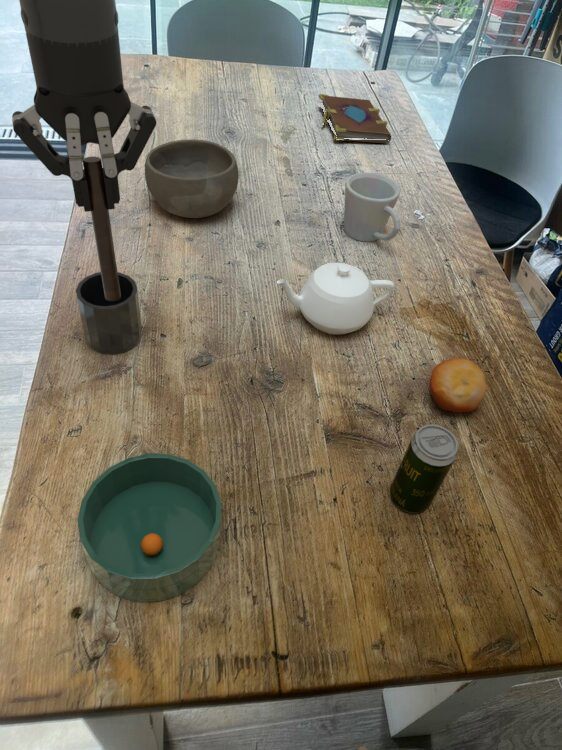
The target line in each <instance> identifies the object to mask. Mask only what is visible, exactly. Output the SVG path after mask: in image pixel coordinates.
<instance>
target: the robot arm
mask: <svg viewBox="0 0 562 750" xmlns="http://www.w3.org/2000/svg"><path fill="white" fill-rule="evenodd" d="M18 2H19V6H20V17H21V21H22V23H23V26H24V31H25V37H26V41H27V46H28V51H29V52H28V53H29V56H30V61H31V67H32V71H33V76H34V81H35V86H36V88H35V89H36V90H35V93H34V96H33V105H32V106H29V107H28V108H27V109H25V110H24V111H20V110H17V111H14V112H13V113H12V116H11V117H12V118H11V120H12V129H13V132H14V134H15V135H16V136H17V137H18V138H19V139H20V140H21V141H22V142H23V144H24V145H25V146H26V147H27V148H28V149H29V150H30V151H31V152H32V154H33V155H34V156H35V157H36V158H37V160H39V161H40V162H41V163H42V164H43V166H45V168H46V169H47V170H48V171H49V172H50V173H51V174H52V176H55V177H60V176H62V175H63V176H67V177H68V178H69V179H70V180H71V183H72V188H73V195H74V200H75V203H76V205H77V206H78V208H83V211H84V212H85V213H86V212H87V213H89V212H91V211H92V210H91V204H90V197H89V191H88V184H87V179H86V175H85V173H84V166H83V151H82V146H83V145H86V144H94V145H98V150H99V154H100V159H101V161H102V168H103V179H104V186H105V193H106V200H107V207H108V210H115V208H116V207H115V205H116V204H120V201H121V194H120V193H121V192H120V185H119V184H120V183H119V175H120V173H122V172H123V171H132V170H134V169H135V167H136V166H137V163H138V161H139V159H140V158H141V155H142V153H143V151H144V149H145V147H146V146H147V143H148V141H149V140H150V138H151V136H152V134H153V132H154V130H155V128H156V126H157V120H156V117H155V115H154V112H153V110H152V108H151V107H150V106H149V105H143V106H141V105H138V104H137V103H134V102H132V101H131V99H130V96H129V94H128V92H127V90H126V89H125V87H124V86H125V85H124V78H123V77H124V76H123V66H122V56H121V45H120V36H119V35H120V33H119V26H118V25H119V13H118V10H117V5H116V0H18ZM127 116H129V117H128V123H129V126H130V128H129V131H128V133H127V135H126V136H125V139H124V141H123V143H122V145H121V147H120V149H119V151H118V152H117V153H115V150H114V143H113V138H114V137H115V136H116V134H117V132H118V131H119V129H120V127H121V126H122V124H123V122H124V121H125V120H126V118H127ZM40 120H43V121H44V122H45V123H46V124H47V125H48V126H49V127H50V128H51V129H52V130H53V131H54V132H55V133H56V134H57V135H58V136H59V137H60V138H61V139H62V140H63V141H64V142H65V148H66V156H63V155H60V153H59V152H58V151H57V150H56V149H55V148H54V147H53V146H52V144H51V142H50V141H48V140H47V138H46V137H45V136H44V134H42V133H43V127H42V123H41V121H40Z"/></svg>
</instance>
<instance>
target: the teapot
mask: <svg viewBox="0 0 562 750" xmlns="http://www.w3.org/2000/svg"><path fill="white" fill-rule="evenodd" d="M276 284H277V285H279V286H280V287H282V289H283V291H284V294H285V295H286V298H287V300H288V301H289V303H290V304H291V305H292V306H293V307H295V308H297V309H299V310H300V312H301V314H302V316H303V317H304V319H305V320H306V321H307V322H308V323H310V325H312V326H313V327H314V328H315V329H317V330H318V331H321V332H323V333H326V334H328V335H346V334H349V333H353V332H355V331H358V330H360V329H361V328H363V327H364V326H365V325H366V324H367V323H368V322H369V321H370V319H371V318H372V316H373V314H374V311H375V308H374V307H376V306H378V305H380V304H382V303H384V302H385V301H386V300H388V299H390V297H392V295H393V294H394V292H395V290H396V286H395V283H394V282H393V281H392V280H388V279H374V280H373V279H372V280H370V279H369V278H368V275H367V274H366V273H365V272H364V271H363V270H361V269H360V268H359V267H356V266H354V265H353V264H349V263H344V262H339V261H338V262H336V261H335V262H327V263H324V264H322V265H320V266H318V267H317V268H316V269H315V270H314V271H312V273H311V274H310V275H309V277H308V278H307V279H306V281H305V282H304V284H303V286H302V288H301V290H300V293H299V294H297V293H295V292H294V290H293V288H292V287H291V285H290V283H289V282H288V281H287V279H285V278H280V279H278V280H277V281H276ZM377 289H386V291H385V292H384V293H382V294H381V295H379V296H378V297H376V298H374V292H373V291H374V290H377Z"/></svg>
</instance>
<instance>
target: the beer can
mask: <svg viewBox="0 0 562 750" xmlns="http://www.w3.org/2000/svg"><path fill="white" fill-rule="evenodd" d="M458 449H459V442H458V440H457V438H456V436H455V435H454V434H453V433H452V431H450V430H449V429H447V428H446V427H444V426H441V425H438V424H433V423H431V424H424V425H423V426H421V427H419V429H417V430H416V431H415V433H413V435H412V437H411V438H410V441H409V444H408V446H407V448H406V451H405V453H404V455H403V458H402V460H401V462H400V464H399V466H398V469H397V471H396V473H395V475H394V478H393V480H392V483H391V485H390V490H389V492H390V493H389V494H390V496H391V499H392V502H393V503H394V505H395V506H396V507H397V508H398V509H399V510H401V511H403V512H405V513H409V514H419V513H422V512H424V511H426V510H428V508H430V507H431V504H432V502H433V501H434V499H435V498H436V495H437V494H438V492H439V490H440V488H441V487H442V485H443V483H444V482H445V479H446V477H447V475H448V474H449V472H450V470H451V468H452V466H453V464H454V462H455V461H456V460H457V456H458Z"/></svg>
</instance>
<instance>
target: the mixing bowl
mask: <svg viewBox="0 0 562 750" xmlns="http://www.w3.org/2000/svg"><path fill="white" fill-rule="evenodd" d="M76 522H77V528H78V529H77V530H78V537H79V541H80V544H81V547H82V550H83V553H84V557H85V559H86V562H87V565H88V566H89V568H90V571H91V572H92V574H93V576H94V577H95V579H96V581H98V582H99V583H100V585H101V586H102V587H104V589H106V590H107V591H109V592H110V593H112V594H113V595H115V596H117V597H120V598H121V599H124V600H129V601H132V602H138V603H155V602H162V601H166V600H169V599H173V598H175V597H177V596H180V595H181V594H184V593H185V592H187V591H189V590H190V589H192V588H193V587H195V586H196V585H197V584H198V583H199V582H200V581H201V580H202V579H203V578H204V577H205V576H206V575H207V573H208V572H209V571H210V569H211V568H212V566H213V565H214V563H215V560H216V558H217V555H218V552H219V548H220V545H221V530H222V528H221V527H222V525H221V524H222V500H221V496H220V494H219V491H218V488H217V485H216V483H214V481H213V480H212V478H211V477H210V476H209V475H208V473H207V472H206V471H205V470H204V469H203V468H201V467H200V466H198V465H197V464H195V463H193V462H192V461H191V460H189V459H188V458H184V457H180V456H176V455H173V454H170V453H144V454H140V455H136V456H131V457H127V458H125V459H124V460H121V461H119V462H117V463H116V464H114V465H111V466H110V467H108V468H107V469H106V470H105V471H103V472H102V473H101V474H100V475H99V476H98V477H96V478H95V479H94V481H92V483H91V484H90V485H89V487H88V489H87V491H86V492H85V494H84V496H83V497H82V499H81V502H80V506H79V511H78V515H77V521H76ZM151 533H154V534H157V535H159V536H160V537H161V539H162V541H163V547H162V549H161V551H160V552H159V553H158V554H156V555H153V556H149V555H146V554H145V553H144V552H143V551H142V549H141V541H142V539H143V538H144V537H145V536H146V535H148V534H151Z"/></svg>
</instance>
